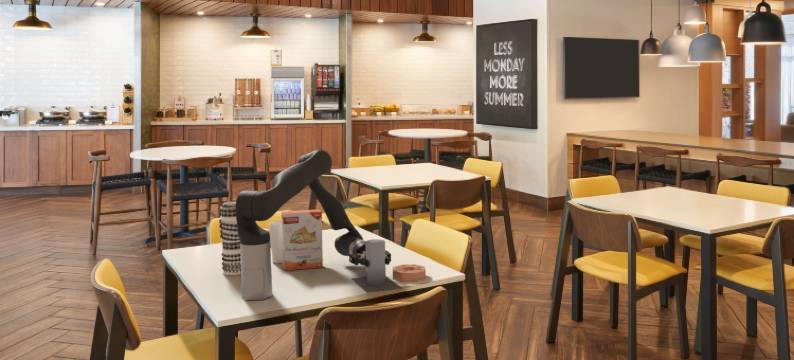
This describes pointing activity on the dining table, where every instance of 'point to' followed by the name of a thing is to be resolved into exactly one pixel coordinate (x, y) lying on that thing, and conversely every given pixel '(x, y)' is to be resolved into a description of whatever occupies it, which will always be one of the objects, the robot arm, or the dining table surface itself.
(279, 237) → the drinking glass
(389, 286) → the mat
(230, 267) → the decorative candle
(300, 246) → the cracker box
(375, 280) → the grey pillar
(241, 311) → the dining table surface
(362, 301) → the dining table surface
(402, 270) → the pink donut
